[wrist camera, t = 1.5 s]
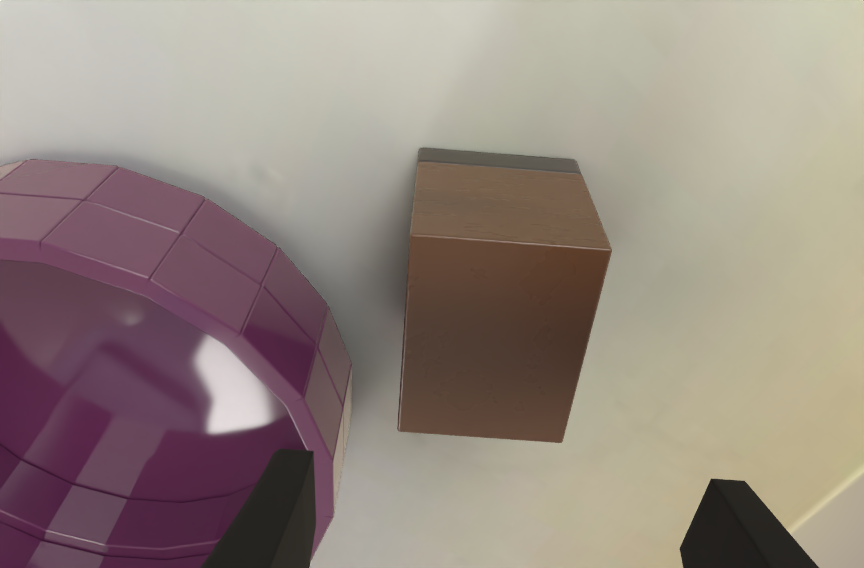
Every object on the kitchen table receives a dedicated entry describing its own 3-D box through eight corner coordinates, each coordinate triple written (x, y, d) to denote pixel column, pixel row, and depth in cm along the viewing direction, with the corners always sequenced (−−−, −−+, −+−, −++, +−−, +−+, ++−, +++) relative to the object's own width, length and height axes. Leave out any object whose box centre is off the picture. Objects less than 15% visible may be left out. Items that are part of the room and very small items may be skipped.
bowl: (352, 514, 27) (335, 635, 23) (-23, 489, 27) (-110, 607, 23) (357, 171, 19) (331, 263, 15) (-187, 128, 19) (-371, 210, 14)
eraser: (541, 330, 22) (562, 444, 18) (407, 320, 22) (397, 432, 18) (576, 158, 19) (613, 249, 14) (419, 146, 18) (409, 233, 14)
